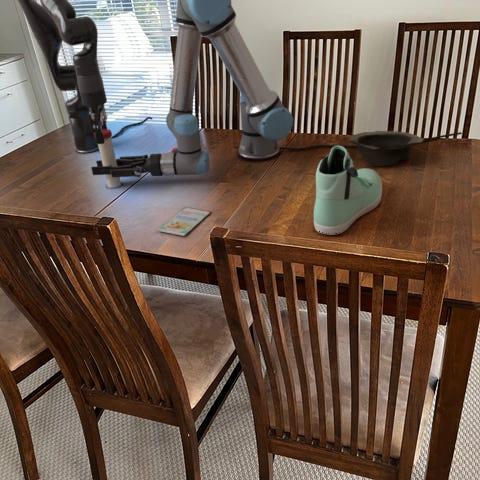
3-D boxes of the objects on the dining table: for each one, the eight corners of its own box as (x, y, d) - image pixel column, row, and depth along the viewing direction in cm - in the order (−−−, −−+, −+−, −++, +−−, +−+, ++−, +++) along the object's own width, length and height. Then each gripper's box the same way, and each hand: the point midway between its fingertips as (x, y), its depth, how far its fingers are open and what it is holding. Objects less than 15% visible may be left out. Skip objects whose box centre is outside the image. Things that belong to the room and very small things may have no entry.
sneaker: (389, 187, 148) (396, 123, 138) (356, 242, 123) (361, 168, 112) (346, 181, 154) (350, 119, 144) (306, 232, 129) (307, 161, 118)
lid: (108, 139, 153) (107, 134, 152) (92, 139, 154) (91, 134, 153) (114, 133, 158) (113, 128, 157) (98, 133, 159) (97, 129, 158)
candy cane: (151, 162, 180) (151, 158, 180) (178, 149, 190) (177, 145, 190) (163, 165, 177) (162, 161, 176) (189, 151, 187) (189, 147, 187)
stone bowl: (381, 177, 154) (382, 149, 150) (333, 159, 175) (333, 134, 170) (437, 158, 163) (440, 131, 159) (386, 143, 183) (387, 119, 179)
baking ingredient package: (157, 229, 135) (185, 206, 146) (157, 231, 135) (185, 208, 146) (183, 235, 131) (210, 211, 142) (183, 236, 131) (210, 212, 143)
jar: (106, 188, 163) (94, 136, 153) (108, 183, 167) (96, 132, 157) (120, 187, 163) (109, 135, 154) (121, 181, 167) (111, 130, 158)
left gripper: (83, 84, 154) (95, 133, 162) (74, 95, 142) (87, 148, 150) (107, 81, 154) (117, 131, 163) (100, 93, 142) (111, 145, 150)
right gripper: (159, 186, 154) (89, 189, 156) (169, 164, 170) (105, 167, 171) (155, 164, 151) (83, 167, 152) (165, 144, 166) (100, 147, 168)
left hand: (103, 139), depth 156 cm, fingers open, 7 cm apart
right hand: (95, 167), depth 162 cm, fingers closed on jar, 5 cm apart
